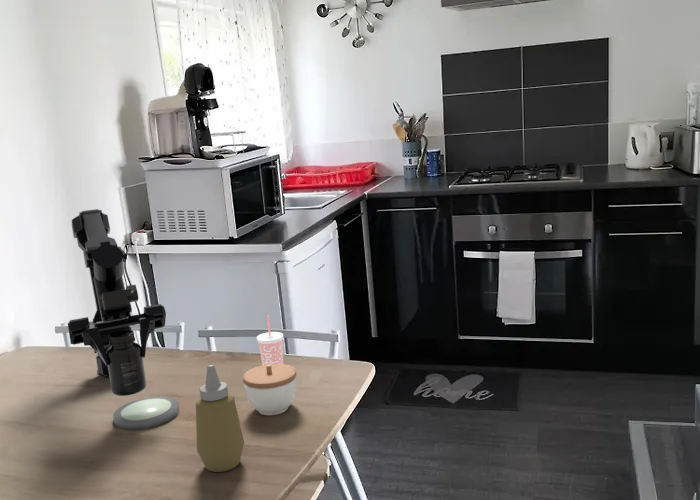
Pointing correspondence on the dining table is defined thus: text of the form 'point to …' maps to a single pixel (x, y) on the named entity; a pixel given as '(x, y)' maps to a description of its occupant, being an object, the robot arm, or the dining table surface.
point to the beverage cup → (271, 346)
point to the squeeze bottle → (218, 425)
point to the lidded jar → (270, 387)
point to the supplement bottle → (125, 364)
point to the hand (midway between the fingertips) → (125, 360)
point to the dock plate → (146, 413)
